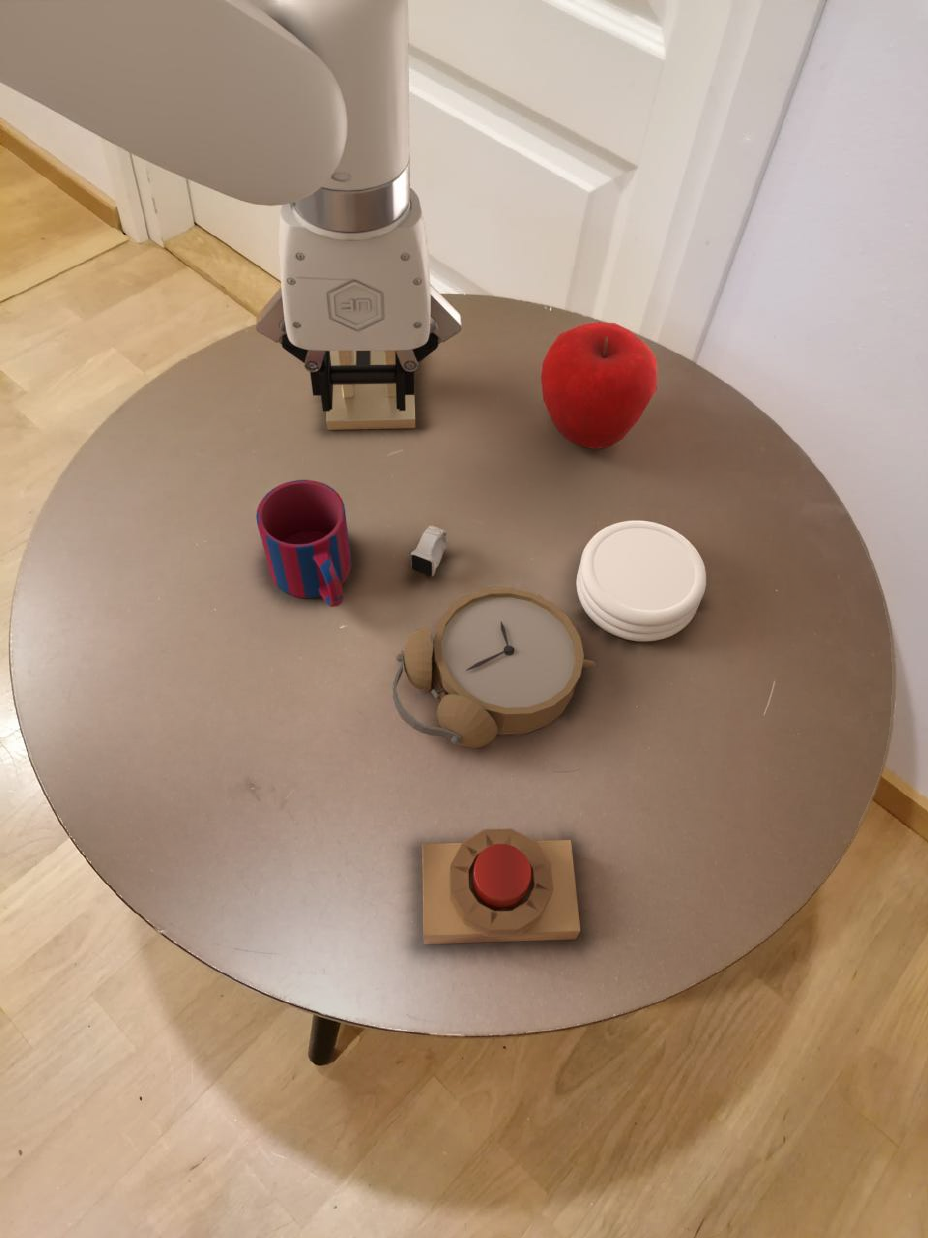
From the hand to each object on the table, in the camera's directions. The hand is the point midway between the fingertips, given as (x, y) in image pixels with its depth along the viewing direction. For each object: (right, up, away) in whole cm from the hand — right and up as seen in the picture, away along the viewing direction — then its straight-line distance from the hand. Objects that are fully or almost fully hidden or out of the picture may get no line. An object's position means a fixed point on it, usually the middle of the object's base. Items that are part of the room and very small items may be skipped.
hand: (364, 396), depth 74 cm
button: (+10, -34, -14) cm, 38 cm away
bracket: (-1, +4, +14) cm, 15 cm away
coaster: (+22, -15, +3) cm, 27 cm away
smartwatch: (+5, -13, +4) cm, 15 cm away
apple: (+19, 0, +12) cm, 23 cm away
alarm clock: (+9, -22, -2) cm, 24 cm away
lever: (0, +5, +3) cm, 6 cm away
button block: (+10, -36, -11) cm, 39 cm away
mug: (-4, -15, +3) cm, 15 cm away
